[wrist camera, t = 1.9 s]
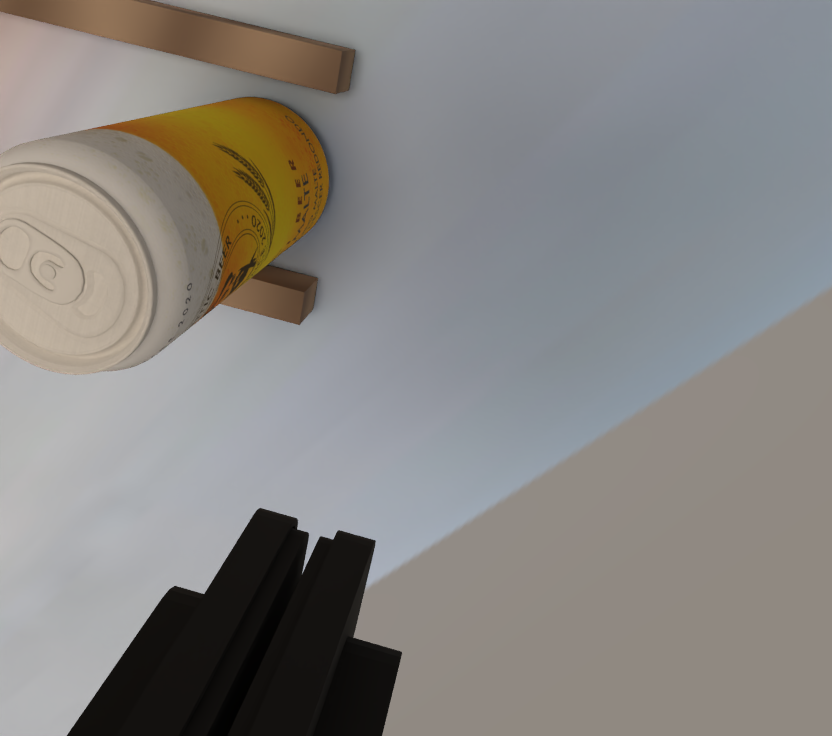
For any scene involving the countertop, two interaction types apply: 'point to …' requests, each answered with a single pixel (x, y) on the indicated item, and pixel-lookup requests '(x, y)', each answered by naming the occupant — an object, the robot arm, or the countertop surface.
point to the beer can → (147, 227)
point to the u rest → (226, 46)
